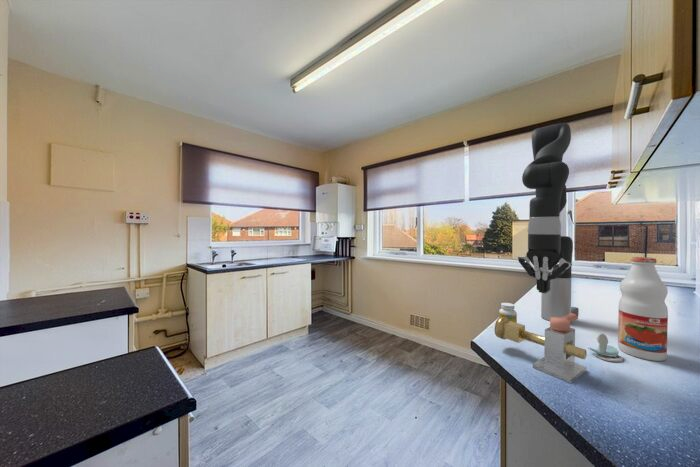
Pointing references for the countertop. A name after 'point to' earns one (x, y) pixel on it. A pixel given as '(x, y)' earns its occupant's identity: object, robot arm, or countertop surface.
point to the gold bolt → (528, 336)
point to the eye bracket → (559, 356)
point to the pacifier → (605, 353)
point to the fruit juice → (643, 312)
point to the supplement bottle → (508, 312)
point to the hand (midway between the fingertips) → (543, 292)
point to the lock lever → (564, 320)
